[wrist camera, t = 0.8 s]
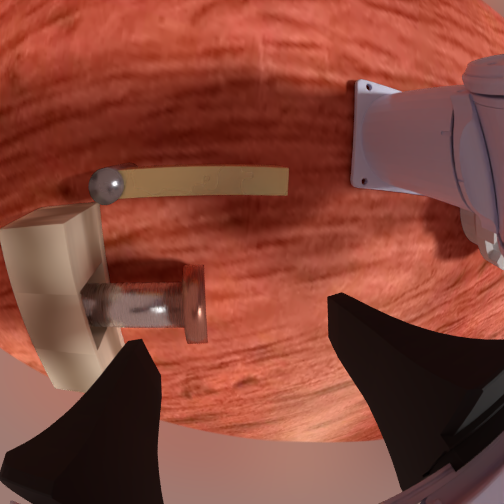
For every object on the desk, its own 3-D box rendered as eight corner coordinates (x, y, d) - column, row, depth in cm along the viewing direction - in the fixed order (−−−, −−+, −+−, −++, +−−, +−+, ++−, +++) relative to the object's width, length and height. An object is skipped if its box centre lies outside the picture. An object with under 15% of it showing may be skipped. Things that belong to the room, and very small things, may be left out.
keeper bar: (269, 160, 17) (291, 164, 13) (268, 187, 18) (289, 201, 13) (115, 163, 15) (87, 170, 11) (116, 191, 16) (90, 206, 12)
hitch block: (99, 201, 16) (63, 223, 11) (125, 348, 20) (112, 395, 15) (41, 207, 15) (-2, 229, 10) (75, 344, 19) (54, 387, 14)
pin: (203, 253, 18) (204, 288, 14) (206, 314, 20) (208, 359, 15) (85, 256, 17) (56, 289, 12) (98, 315, 18) (78, 355, 14)
